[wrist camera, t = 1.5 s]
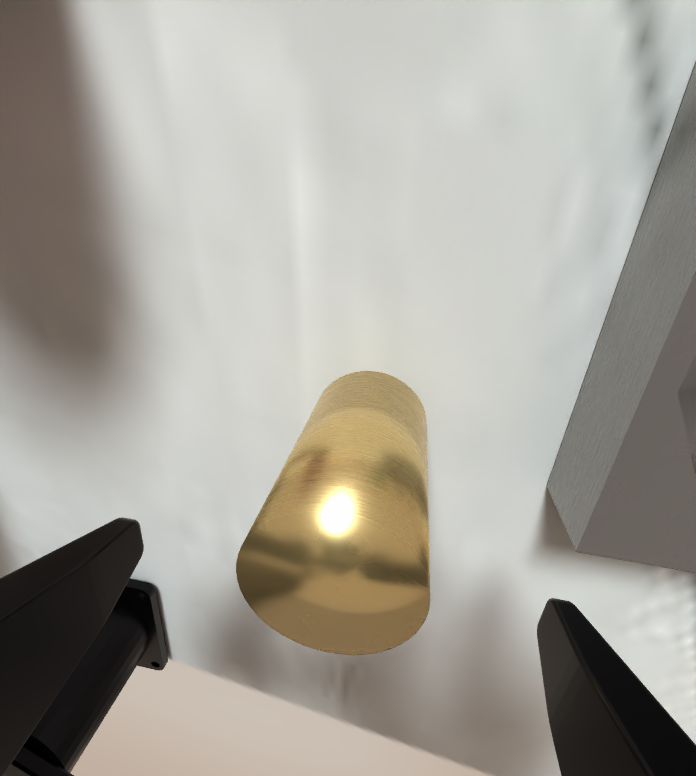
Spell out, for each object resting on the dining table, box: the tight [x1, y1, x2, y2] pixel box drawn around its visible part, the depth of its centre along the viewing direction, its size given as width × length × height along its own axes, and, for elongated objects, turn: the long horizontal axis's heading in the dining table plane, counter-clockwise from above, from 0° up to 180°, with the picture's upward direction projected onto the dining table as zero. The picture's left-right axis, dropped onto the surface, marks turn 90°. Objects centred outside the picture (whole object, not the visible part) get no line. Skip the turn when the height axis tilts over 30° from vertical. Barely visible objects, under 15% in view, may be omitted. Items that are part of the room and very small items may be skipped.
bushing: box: [236, 371, 430, 655], centre depth 11 cm, size 4×4×7 cm
